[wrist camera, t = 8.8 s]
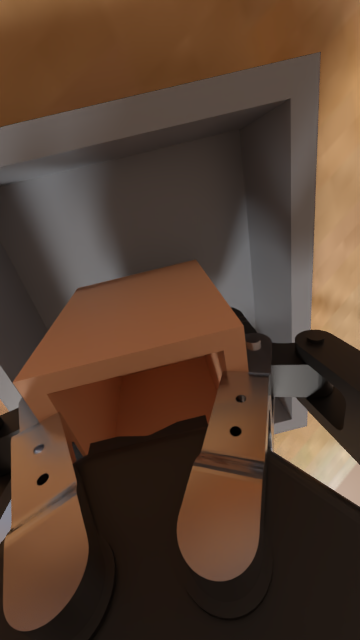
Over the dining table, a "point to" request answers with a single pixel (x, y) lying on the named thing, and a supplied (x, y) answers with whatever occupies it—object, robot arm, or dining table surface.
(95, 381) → the box
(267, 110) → the big crate
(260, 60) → the dining table surface
